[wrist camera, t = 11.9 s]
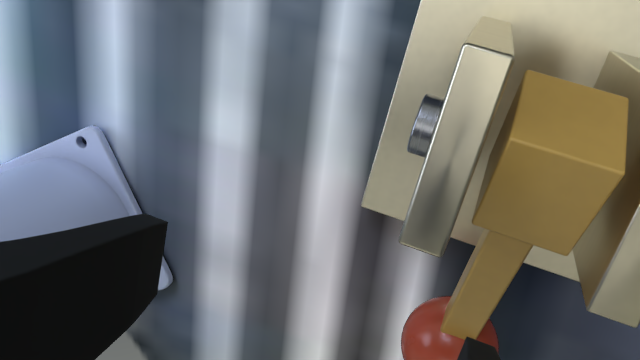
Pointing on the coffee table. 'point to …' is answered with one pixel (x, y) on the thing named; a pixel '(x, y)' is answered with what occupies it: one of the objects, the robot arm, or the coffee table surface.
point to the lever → (528, 203)
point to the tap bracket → (488, 117)
